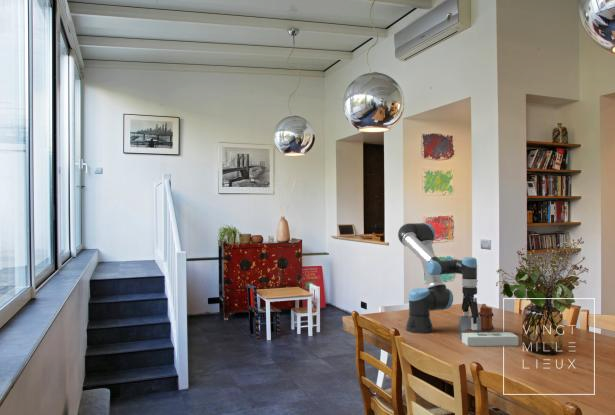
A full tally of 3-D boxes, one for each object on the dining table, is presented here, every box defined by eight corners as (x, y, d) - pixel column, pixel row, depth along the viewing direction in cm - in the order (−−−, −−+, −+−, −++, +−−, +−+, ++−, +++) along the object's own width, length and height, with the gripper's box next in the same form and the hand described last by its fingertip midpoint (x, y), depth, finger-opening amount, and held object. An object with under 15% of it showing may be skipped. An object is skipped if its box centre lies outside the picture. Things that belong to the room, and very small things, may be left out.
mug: (495, 335, 273) (495, 308, 273) (479, 334, 275) (479, 307, 275) (490, 329, 288) (490, 303, 288) (476, 328, 289) (475, 302, 289)
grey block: (461, 339, 264) (461, 317, 264) (459, 338, 267) (459, 316, 268) (481, 339, 265) (480, 317, 265) (478, 338, 268) (478, 315, 268)
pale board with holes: (467, 346, 252) (467, 337, 252) (461, 341, 261) (461, 332, 261) (518, 345, 253) (518, 336, 253) (510, 340, 262) (510, 332, 262)
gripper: (485, 290, 254) (485, 332, 254) (468, 283, 278) (469, 321, 278) (470, 290, 254) (471, 332, 254) (455, 283, 278) (455, 321, 278)
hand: (470, 326), depth 266 cm, fingers open, 12 cm apart
